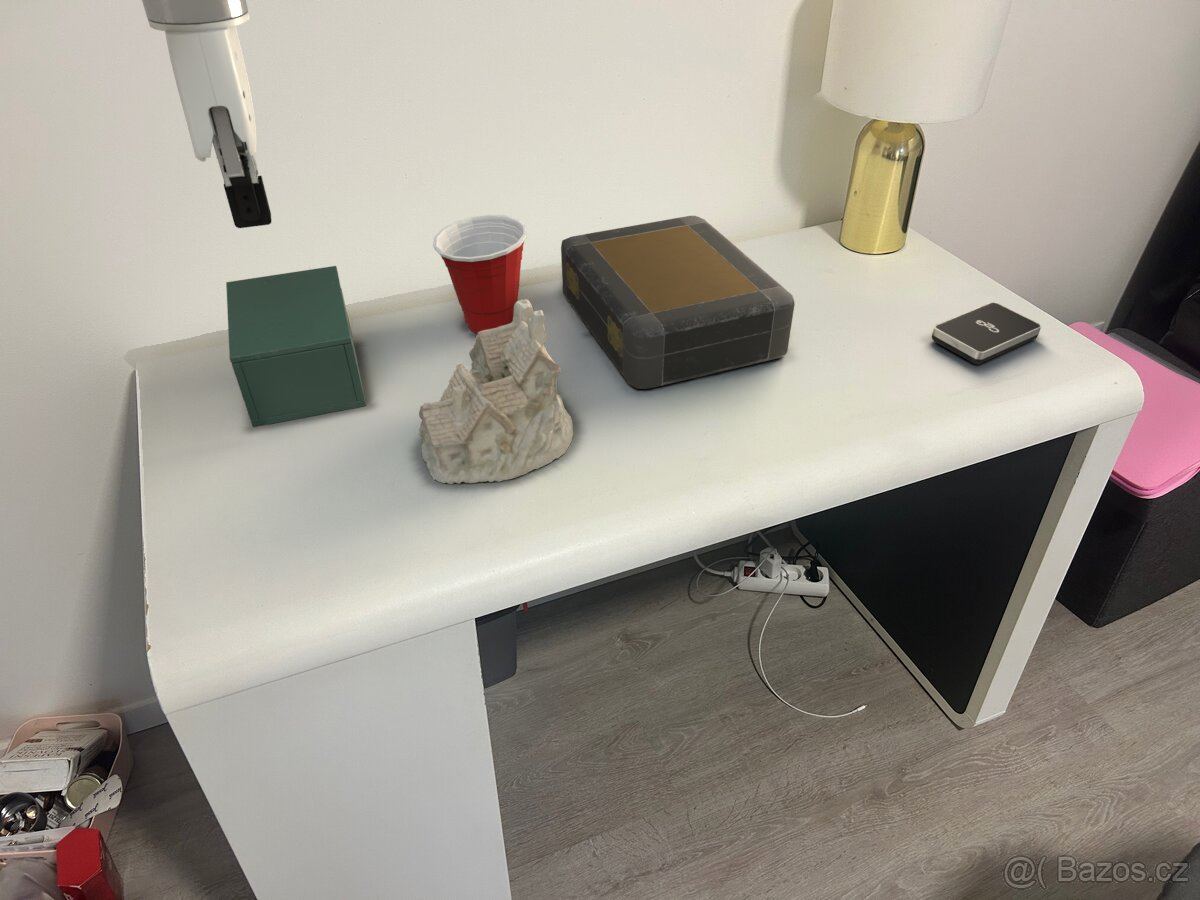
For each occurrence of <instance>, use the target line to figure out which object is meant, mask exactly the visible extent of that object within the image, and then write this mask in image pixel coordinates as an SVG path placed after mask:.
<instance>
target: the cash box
mask: <svg viewBox="0 0 1200 900" xmlns="http://www.w3.org/2000/svg"><path fill="white" fill-rule="evenodd" d="M560 256H561V257H560V258H561V281H562V283H561V285H562V294H563V296H564V297H565V299H566V300H567V301H568V303H569V304H570V305H571V307H572V308H573V309H574V311H575V312H576V314H577V315H578V316H579V318H580V319H581V321H582V322H583V323H584V325H585V326H586V327H587V329H588V330H589V332H591V334H592V336H593V337H594V338H595V340H596V341H597V342H598V344H599V346H601V348H602V349H603V350H604V352H605V353H606V355H607V356H608V357H609V359H610V360H611V362H612V363H613V364H614V366H615V368H616V369H617V370H618V371H619V373H620V374H621V375H622V376H623V378H624V379H625V380H626V382H627V383H628V384H629V385H630V386H631V387H633V388H635V389H637V390H641V389H642V390H649V389H653V388H657V387H661V386H667V385H670V384H675V383H679V382H682V381H683V382H684V381H688V380H692V379H695V378H696V379H697V378H700V377H704V376H705V377H706V376H709V375H713V374H717V373H721V372H726V371H730V370H734V369H738V368H743V367H747V366H751V365H754V364H755V365H756V364H760V363H765V362H768V361H772V360H776V359H781V358H782V357H784V356H785V355H787V353H788V350H789V343H790V337H791V330H792V325H793V317H794V311H795V304H796V303H795V299H794V295H793V294H791V292H789V291H788V290H787V289H786V288H785V287H784V286H782V284H780V283H779V282H778V281H777V280H775V279H774V278H773V277H772V276H771V275H770V274H769V273H768V272H766V271H765V270H764V269H763V268H761V266H759V265H758V264H757V263H756V262H754V260H752V259H751V258H750V257H749V256H748V255H746V254H745V253H744V252H743V251H742V250H741V249H739V248H738V247H737V246H736V245H735V244H733V242H731V241H730V240H729V239H728V238H727V237H726V236H724V235H723V233H721V232H720V231H719V230H717V229H716V228H715V226H713V225H712V224H711V223H709V222H708V221H707V220H706V219H705V218H702V217H700V216H697V215H687V216H681V217H675V218H674V217H673V218H669V219H664V220H658V221H652V222H646V223H640V224H636V225H635V224H634V225H629V226H623V227H617V228H612V229H605V230H601V231H596V232H590V233H584V234H579V235H574V236H570V237H567V238H565V239H562V240H561V244H560Z"/></svg>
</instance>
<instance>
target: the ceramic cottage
mask: <svg viewBox="0 0 1200 900" xmlns="http://www.w3.org/2000/svg"><path fill="white" fill-rule="evenodd" d="M544 321H545V313H544V312H543V309H539V310H535V311H534V309H533V305H532V304H531V302H530V300H529V299H526V298H524V299H520V300H519V299H518V301H517V302H516V303H515V305H514V316H513V322H511V323H510V324H507V325H503V326H500V327H497V328H493V329H488V330H483V331H480V332H478V334H477V333H476V334H477V335H476V336H475V340H474V344H473V346H472V349H470V351H469V353H468V355H469V357H470V360H471V362H472V363H471V369H470V370H468V369H467V368H466V367H465V366H464V364H462V363H459V364H456V370H453V375H452V376H451V377H450V378H449V380H448V383H449V384H448V385H447V388H445V389H444V391H443V392H442V396H441V397H440V399H439V400H438V401H435V402H424V403H423V404H422V405H421V406H419V411H418V416H419V418H420V419H421V422H420V427H419V429H418V432H419V433H418V436H419V438H421V441H422V444H421V450H420V451H421V452H420V453H421V458H422V460H423V462H424V463H425V464H426V467H427V470H428V472H429V475H430V476H431V477H432V479H433V481H435V480H436V481H437V482H439V483H442V484H446V483H447V484H448V485H449V484H450V485H453V484H455V483H456V484H461V483H465V484H475V483H484V482H486V483H487V482H488V483H493V482H497V483H499V482H502V481H508V480H511V479H516V478H518V477H520V476H523V475H528V474H529V472H532V471H534V470H539V469H540V468H543V467H545V466H547V465H548V464H550V463H553V461H554V460H555V459H556V460H558V458H561V456H563V455H565V454H566V452H567V451H568V449H569V447H570V445H571V443H572V441H573V436H574V424H573V420H572V416H571V415H570V414H569V412H568V410H567V409H565V405H564V401H563V398H562V396H561V395H560V394H559V393H558V377H559V375H560V374H561V372H562V370H561V367H560V365H559V364H558V363H557V362H555V361H554V360H553V358H552V357H551V355H550V354H549V353H548V351H547V348H546V347H545V343H546V340H547V333H546V329H545V328H546V327H545V325H544Z"/></svg>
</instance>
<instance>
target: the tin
mask: <svg viewBox="0 0 1200 900" xmlns="http://www.w3.org/2000/svg"><path fill="white" fill-rule="evenodd" d="M341 291H342V296H343V301H344V306H345V311H346V316H347V321H348V326H349V331H350V336H351V341H352V342H351V343H347V344H341V345H336V346H330V347H324V348H318V349H312V350H307V351H301V352H295V353H289V354H283V355H277V356H272V357H266V358H260V359H254V360H248V361H243V362H237V363H231V367H232V370H233V373H234V375H235V379H236V381H237V384H238V387H239V391H240V394H241V396H242V399H243V402H244V404H245V405H244V406H245V408H246V411H247V414H248V417H249V420H250V423H251V425H252V428H257V427H262V426H267V425H272V424H277V423H278V424H279V423H283V422H289V421H294V420H298V419H299V420H300V419H304V418H309V417H314V416H319V415H325V414H330V413H336V412H340V411H347V410H352V409H356V408H361V407H366V406H367V403H366V398H365V392H364V387H363V382H362V378H361V372H360V371H361V370H360V366H359V362H358V357H357V352H356V346H355V342H354V337H353V333H352V328H351V324H350V320H349V315H348V311H347V307H346V303H345V298H344V294H343V289H342V288H341Z"/></svg>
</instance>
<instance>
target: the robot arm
mask: <svg viewBox="0 0 1200 900" xmlns="http://www.w3.org/2000/svg"><path fill="white" fill-rule="evenodd" d="M141 2H142V6H143V9H144V12H145V15H146V19H147V22H148V25H149V27H150V28H152V29H153V30H157V31H160V32H161V31H162V32H164V34H165V39H166V44H167V45H166V46H167V51H168V54H169V60H170V63H171V67H172V72H173V76H174V80H175V84H176V87H177V92H178V95H179V99H180V102H181V107H182V110H183V114H184V118H185V121H186V126H187V130H188V133H189V137H190V141H191V145H192V149H193V153H194V157H195V158H196V159H197V160H198V161H200V162H203V163H204V162H206V161H207V158H211V155H212V147H213V148H214V151H215V155H216V156H215V157H216V159H217V162H218V165H219V169H220V172H221V175H222V179H223V188H224V192H225V196H226V199H227V203H228V206H229V210H230V213H231V217H232V220H233V225H234V226H235V227H236V228H237V229H245V228H253V227H261V226H268V225H271V224H272V222H273V221H272V211H271V208H270V204H269V199H268V197H267V191H266V188H265V185H264V181H263V176H262V175H259V170H258V165H257V161H256V157H255V154H256V153H257V151H258V141H257V124H256V123H257V122H256V114H255V108H254V107H255V106H254V101H253V95H252V90H251V85H250V80H249V76H248V71H247V67H246V62H245V57H244V54H243V49H242V45H241V41H240V37H239V32H238V28H237V26H240V25H243V24H245V23H246V22H249V20H250V19H251V17H250V12H249V8H248V4H247V0H141Z"/></svg>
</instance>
